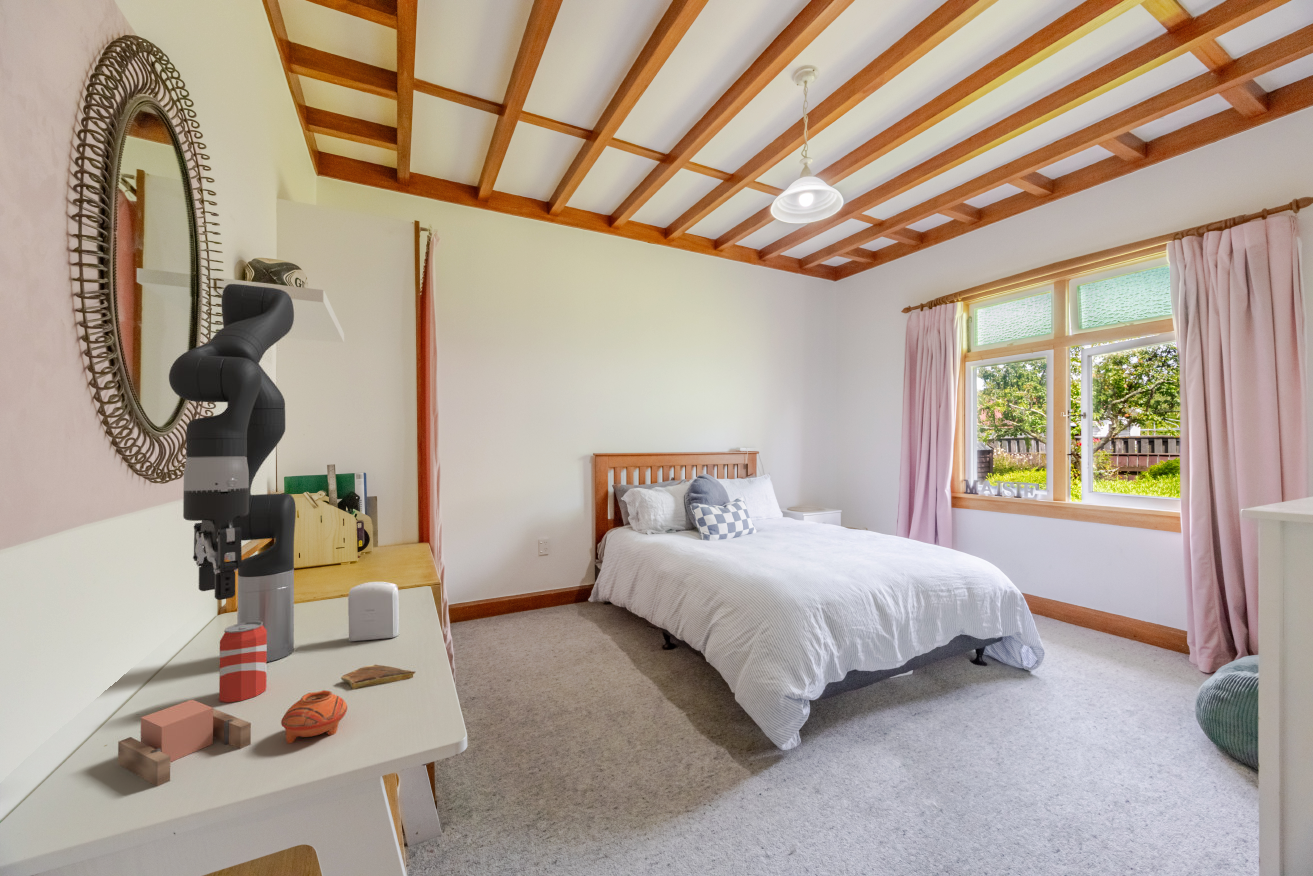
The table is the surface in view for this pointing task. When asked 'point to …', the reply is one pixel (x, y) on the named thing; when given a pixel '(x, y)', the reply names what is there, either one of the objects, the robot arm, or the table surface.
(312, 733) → the pot
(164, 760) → the tan wooden frame
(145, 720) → the block
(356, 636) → the photo printer
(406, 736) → the table surface
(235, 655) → the beverage can
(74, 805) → the table surface
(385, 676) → the shard
